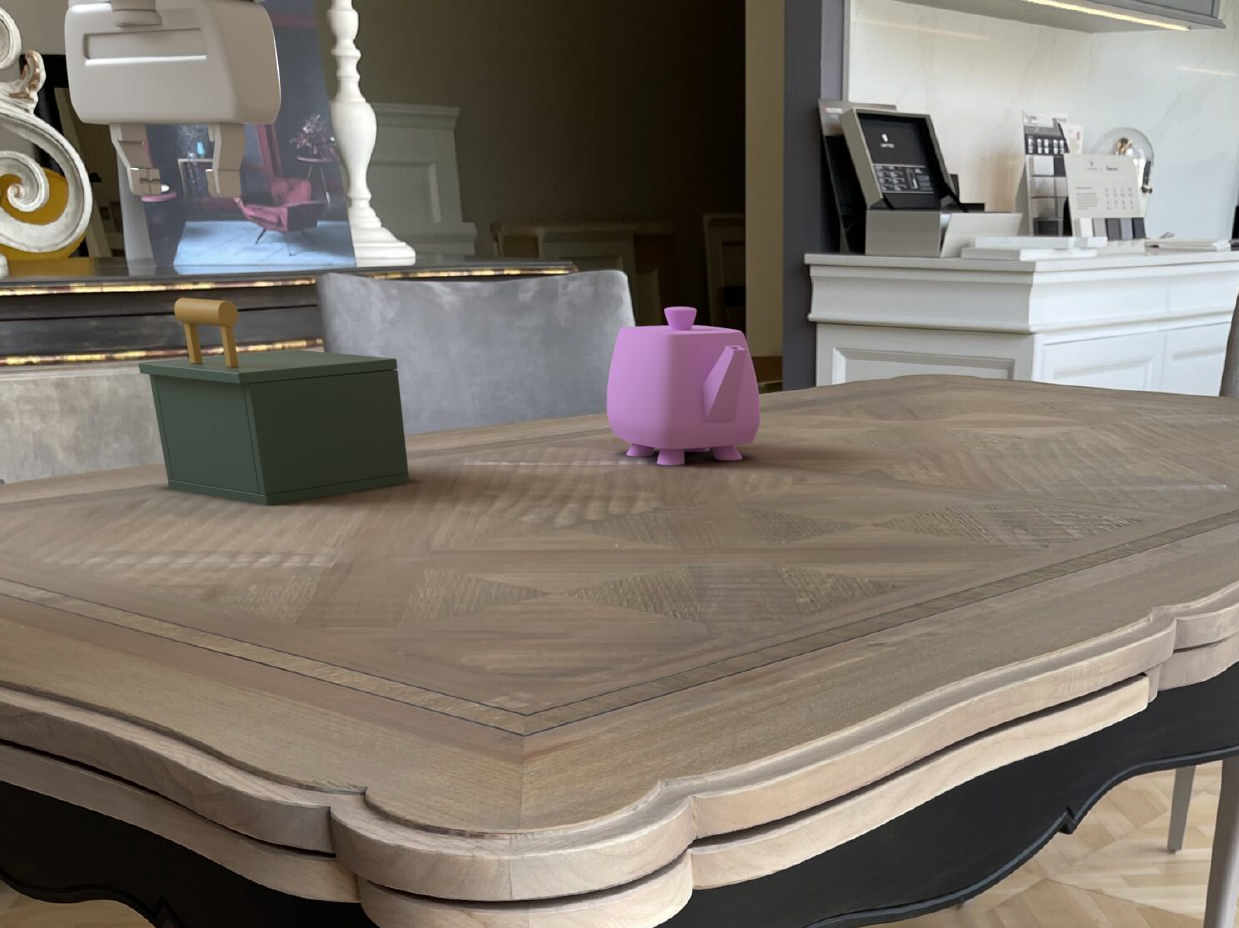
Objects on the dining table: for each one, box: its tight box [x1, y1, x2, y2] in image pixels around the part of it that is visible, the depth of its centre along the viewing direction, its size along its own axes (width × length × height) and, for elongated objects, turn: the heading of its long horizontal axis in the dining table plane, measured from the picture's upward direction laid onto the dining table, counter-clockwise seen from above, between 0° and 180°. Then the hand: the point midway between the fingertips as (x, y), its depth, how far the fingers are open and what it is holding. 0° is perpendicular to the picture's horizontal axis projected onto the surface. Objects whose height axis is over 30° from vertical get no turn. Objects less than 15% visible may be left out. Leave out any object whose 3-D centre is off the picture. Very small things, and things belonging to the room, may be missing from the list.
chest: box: [148, 369, 410, 506], centre depth 128 cm, size 15×13×9 cm
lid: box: [137, 297, 398, 384], centre depth 124 cm, size 15×13×5 cm
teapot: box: [606, 306, 761, 466], centre depth 144 cm, size 20×12×13 cm, turn 33°
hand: (185, 196), depth 116 cm, fingers open, 8 cm apart
